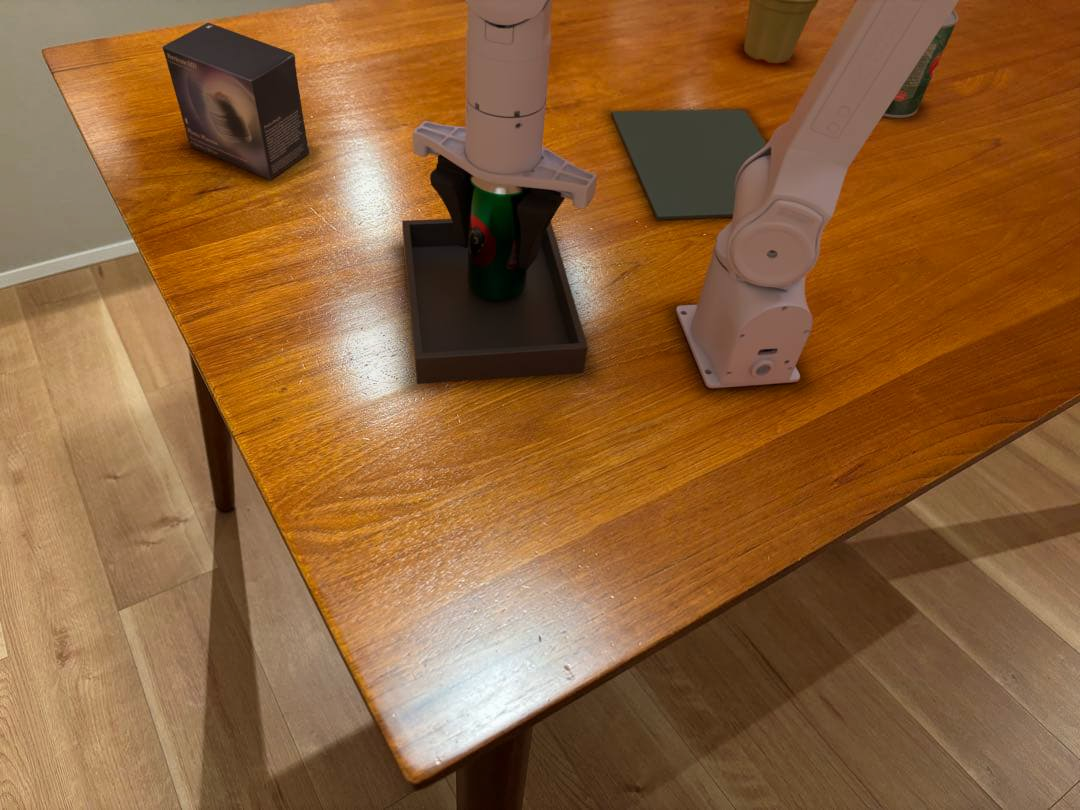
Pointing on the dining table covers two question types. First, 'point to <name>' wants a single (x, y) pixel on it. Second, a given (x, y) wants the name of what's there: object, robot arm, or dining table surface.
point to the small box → (238, 99)
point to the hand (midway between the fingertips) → (498, 251)
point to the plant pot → (775, 28)
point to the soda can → (494, 240)
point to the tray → (486, 313)
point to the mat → (689, 158)
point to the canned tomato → (921, 74)
